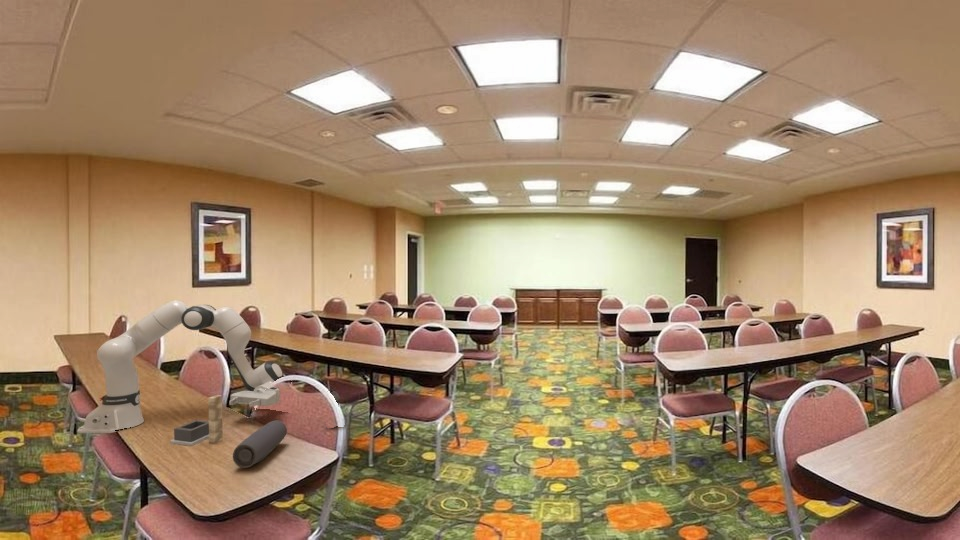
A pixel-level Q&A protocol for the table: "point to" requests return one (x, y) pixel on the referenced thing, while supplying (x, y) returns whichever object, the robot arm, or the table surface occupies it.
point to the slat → (215, 419)
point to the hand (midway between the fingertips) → (239, 404)
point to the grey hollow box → (191, 433)
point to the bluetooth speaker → (259, 444)
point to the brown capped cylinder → (334, 394)
